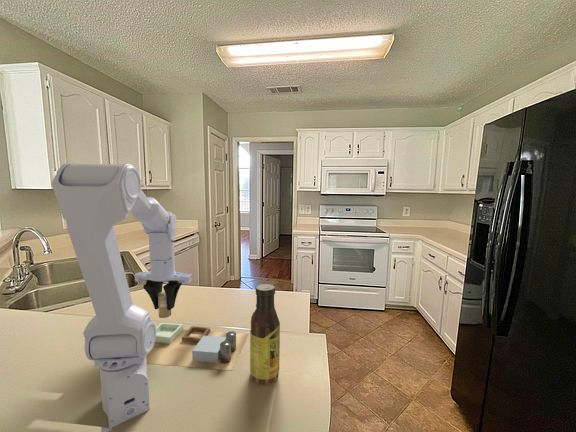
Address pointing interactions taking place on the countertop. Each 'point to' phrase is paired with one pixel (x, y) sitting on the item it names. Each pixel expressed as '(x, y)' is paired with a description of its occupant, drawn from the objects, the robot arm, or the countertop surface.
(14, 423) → the countertop surface
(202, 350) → the slate block
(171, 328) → the sage tray
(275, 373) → the sauce bottle
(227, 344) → the bench dogs
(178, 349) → the bench board
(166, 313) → the beech dowel
